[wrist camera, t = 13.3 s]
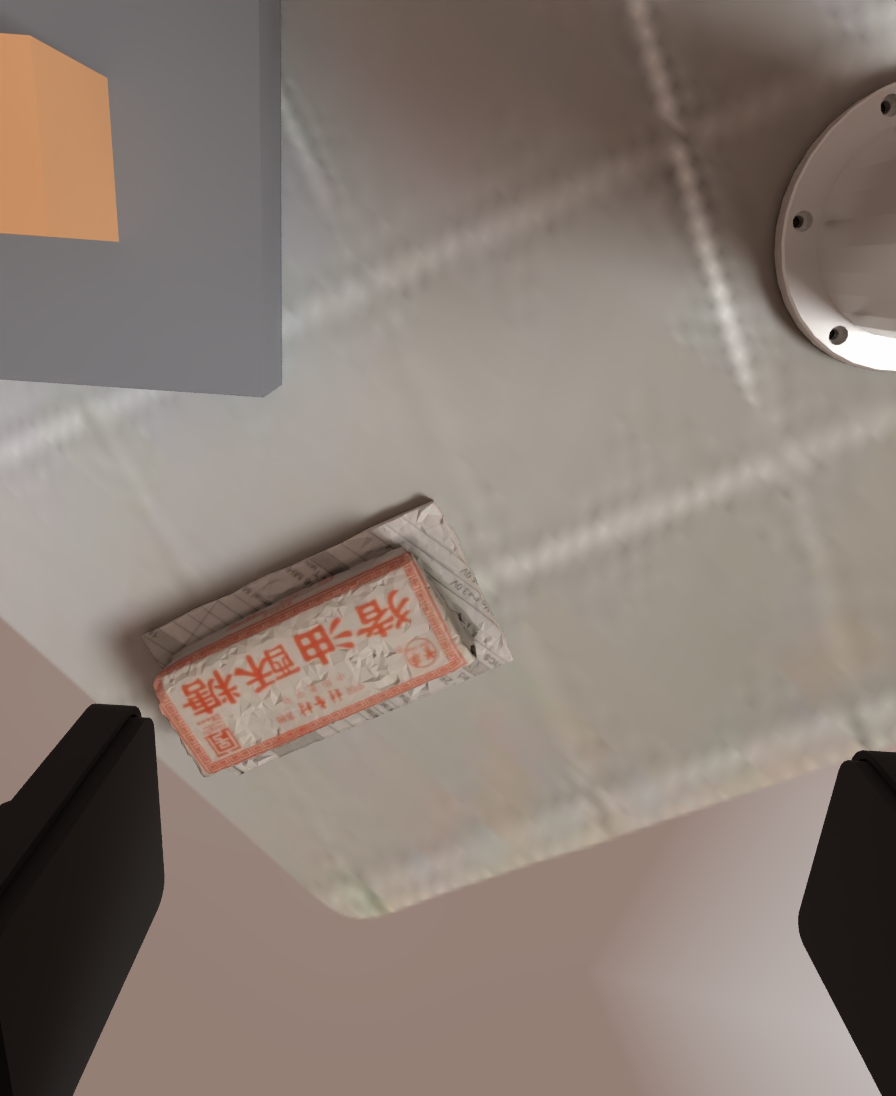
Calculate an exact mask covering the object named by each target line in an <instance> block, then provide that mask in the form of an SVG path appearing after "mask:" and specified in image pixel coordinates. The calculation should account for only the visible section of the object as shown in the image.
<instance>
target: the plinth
mask: <svg viewBox="0 0 896 1096" xmlns="http://www.w3.org/2000/svg"><path fill="white" fill-rule="evenodd" d="M0 33H6V34H19V35H30V36H32V37H34V38H36V39H37V40H39V41H41V42H43V43H45V44H47V45H48V46H50V47H52V48H54V49H56V50H57V51H59V52H61V53H63V54H65V55H66V56H68V57H70V58H72V59H74V60H76V61H77V62H79V63H81V64H83V65H85V66H86V67H88V68H90V69H92V70H94V71H96V72H97V73H99V74H101V75H103V76H105V77H106V78H107V80H108V94H109V108H110V122H111V136H112V150H113V165H114V179H115V193H116V207H117V221H118V235H119V242H114V241H100V240H86V239H71V238H57V237H43V236H29V235H15V234H0V379H3V380H18V381H33V382H47V383H62V384H76V385H91V386H106V387H120V388H135V389H150V390H164V391H179V392H193V393H208V394H223V395H237V396H252V397H265V396H266V395H268V394H269V393H270V392H272V391H273V390H275V389H276V388H278V387H279V386H281V385H282V308H281V64H280V0H0Z"/></svg>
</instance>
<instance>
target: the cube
mask: <svg viewBox="0 0 896 1096" xmlns="http://www.w3.org/2000/svg"><path fill="white" fill-rule="evenodd" d="M0 234H15V235H29V236H43V237H57V238H71V239H86V240H100V241H114V242H119V235H118V221H117V207H116V193H115V179H114V165H113V150H112V136H111V122H110V108H109V94H108V80H107V78H106V77H105V76H103V75H101V74H99V73H97V72H96V71H94V70H92V69H90V68H88V67H86V66H85V65H83V64H81V63H79V62H77V61H76V60H74V59H72V58H70V57H68V56H66V55H65V54H63V53H61V52H59V51H57V50H56V49H54V48H52V47H50V46H48V45H47V44H45V43H43V42H41V41H39V40H37V39H36V38H34V37H32V36H30V35H19V34H6V33H0Z"/></svg>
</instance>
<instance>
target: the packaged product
mask: <svg viewBox="0 0 896 1096" xmlns="http://www.w3.org/2000/svg"><path fill="white" fill-rule="evenodd" d="M141 639H142V640H143V641H144V642H145V644H146V645H147V647H148V648H149V650H150V651H151V653H152V655H153V656H154V658H155V659H156V661H157V662H158V664H159V665H160V667H161V668H162V669H163V670H162V671H160V672H159V673H158V674H157V676H156V677H155V678H154V679H153V689H154V693H155V695H156V697H157V700H158V703H159V707H158V709H159V711H160V712H161V714H162V715H165V716H166V718H167V719H168V720H169V721H170V723H171V726H172V727H173V729H174V730H175V731H176V732H177V734H178V735H179V737H180V740H181V743H182V745H183V746H184V748H185V749H186V751H187V754H188V755H189V756H191V757H192V758H193V760H194V762H195V763H196V765H197V767H198V769H199V771H200V773H201V774H202V775H203V776H204V777H209V776H211V775H213V774H214V773H217V772H218V771H220V770H222V769H228V770H230V771H232V772H234V773H236V774H238V775H241V774H243V773H244V772H246V771H248V770H250V769H251V768H253V767H259V766H260V765H262V764H264V763H266V762H268V761H271V760H274V759H277V758H279V757H281V756H284V755H286V754H288V753H291V752H293V751H295V750H298V749H300V748H303V747H305V746H308V745H310V744H312V743H314V742H316V741H320V740H322V739H324V738H326V737H329V736H331V735H334V734H336V733H338V732H340V731H343V730H346V729H350V728H352V727H354V726H357V725H359V724H361V723H363V722H364V721H366V720H370V719H373V718H375V717H378V716H380V715H382V714H384V713H387V712H389V711H392V710H394V709H396V708H398V707H401V706H404V705H406V704H408V703H411V702H413V701H414V700H416V699H419V698H422V697H425V696H428V695H430V694H433V693H435V692H438V691H440V690H443V689H445V688H448V687H450V686H452V685H454V684H457V683H459V682H462V681H465V680H467V679H469V678H471V677H473V676H476V675H479V674H482V673H484V672H485V671H487V670H489V669H492V668H495V667H497V666H499V665H502V664H505V663H508V662H510V661H512V660H513V658H512V656H511V653H510V650H509V647H508V645H507V642H506V639H505V637H504V634H503V631H502V629H501V628H500V626H499V624H498V622H497V620H496V619H495V617H494V615H493V613H492V611H491V610H490V608H489V606H488V604H487V602H486V601H485V599H484V597H483V595H482V592H481V590H480V587H479V585H478V583H477V580H476V578H475V576H474V573H473V571H472V569H471V567H470V565H469V563H468V561H467V559H466V557H465V554H464V552H463V550H462V548H461V546H460V544H459V542H458V540H457V537H456V535H455V533H454V532H453V530H452V529H451V527H450V525H449V524H448V522H447V520H446V519H445V517H444V516H443V514H442V513H441V511H440V509H439V508H438V506H437V505H436V503H435V501H434V500H433V501H430V502H428V503H426V504H423V505H421V506H419V507H416V508H414V509H411V510H409V511H407V512H404V513H402V514H400V515H397V516H395V517H393V518H391V519H388V520H386V521H384V522H382V523H379V524H377V525H375V526H373V527H370V528H368V529H366V530H364V531H362V532H361V533H359V534H357V535H355V536H353V537H352V538H350V539H348V540H346V541H344V542H342V543H340V544H338V545H335V546H333V547H331V548H329V549H326V550H324V551H322V552H319V553H317V554H315V555H313V556H310V557H308V558H306V559H304V560H301V561H299V562H297V563H295V564H293V565H291V566H289V567H286V568H283V569H281V570H278V571H275V572H273V573H270V574H268V575H265V576H263V577H261V578H259V579H258V580H256V581H253V582H251V583H249V584H247V585H245V586H244V587H242V588H240V589H239V590H237V591H235V592H234V593H232V594H230V595H229V596H225V597H222V598H220V599H218V600H215V601H213V602H210V603H208V604H205V605H203V606H200V607H198V608H195V609H193V610H192V611H190V612H188V613H186V614H184V615H182V616H180V617H178V618H176V619H174V620H173V621H171V622H169V623H167V624H165V625H163V626H161V627H160V628H158V629H155V630H153V631H150V632H147V633H145V634H142V636H141Z"/></svg>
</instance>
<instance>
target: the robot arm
mask: <svg viewBox="0 0 896 1096" xmlns="http://www.w3.org/2000/svg"><path fill="white" fill-rule="evenodd" d="M881 103H883V104H884V105H885V112H884V114H883V113H882V112H881ZM795 216H796V217H798V218H799V225H798V226H797V227H796V228H794V227H793V219H794V217H795ZM774 258H775V266H776V275H777V282H778V285H779V288H780V291H781V294H782V298H783V301H784V304H785V306H786V308H787V310H788V312H789V313H790V315H791V317H792V318H793V320H794V322H795V324H796V325H797V327H798V328H799V329H800V330H801V331H802V332H803V334H804V335H805V336H806V337H807V338H808V339H809V340H810V341H811V342H812V343H813V344H814V345H815V346H817V347H818V348H819V349H821V350H822V351H824V352H825V353H827V354H828V355H830V356H831V357H833V358H835V359H837V360H840V361H842V362H845V363H847V364H850V365H852V366H855V367H860V368H864V369H868V370H872V371H880V372H895V373H896V82H894V83H891V84H889V85H887V86H884V87H882V88H880V89H878V90H876V91H875V92H873V93H871V94H869V95H868V96H866V97H864V98H862V99H861V100H859V101H857V102H855V103H854V104H853V105H852V106H851V107H849V108H848V109H847V110H846V111H844V112H843V113H842V114H841V115H840V116H838V117H837V118H836V119H835V120H834V121H832V122H831V123H830V124H829V126H828V127H827V128H826V129H825V130H824V131H823V132H822V134H821V135H820V136H819V137H818V138H817V139H816V140H815V142H814V143H813V144H812V145H811V146H810V148H809V149H808V151H807V153H806V154H805V156H804V157H803V159H802V161H801V162H800V164H799V165H798V167H797V169H796V170H795V172H794V174H793V176H792V179H791V181H790V184H789V186H788V188H787V191H786V193H785V195H784V198H783V200H782V205H781V209H780V213H779V217H778V221H777V226H776V235H775V251H774ZM832 329H833V330H834V336H833V337H832V338H831V339H829V334H830V332H831V330H832ZM163 889H164V863H163V849H162V835H161V820H160V805H159V791H158V776H157V761H156V746H155V732H154V724H153V721H152V719H150V718H142V717H141V713H140V710H139V708H137V707H136V706H125V705H109V704H92V705H90V706H89V707H88V708H87V709H86V710H85V712H84V713H83V714H82V715H81V716H80V718H79V719H78V720H77V721H76V723H75V724H74V725H73V726H72V727H71V729H70V730H69V731H68V732H67V733H66V735H65V736H64V737H63V738H62V740H61V741H60V742H59V743H58V744H57V745H56V747H55V748H54V749H53V750H52V752H51V753H50V754H49V755H48V756H47V758H46V759H45V760H44V761H43V763H42V764H41V765H40V766H39V767H38V769H37V770H36V771H35V772H34V773H33V775H32V776H31V777H30V778H29V779H28V781H27V782H26V783H25V784H24V785H23V787H22V788H21V789H20V790H19V791H18V793H17V794H16V795H15V796H14V798H13V799H12V800H11V801H8V802H5V803H3V804H1V805H0V1096H73V1093H74V1091H75V1089H76V1087H77V1085H78V1083H79V1080H80V1078H81V1076H82V1074H83V1072H84V1069H85V1067H86V1065H87V1063H88V1061H89V1058H90V1056H91V1054H92V1052H93V1050H94V1048H95V1045H96V1043H97V1041H98V1039H99V1037H100V1034H101V1032H102V1030H103V1028H104V1026H105V1023H106V1021H107V1019H108V1017H109V1015H110V1012H111V1010H112V1008H113V1006H114V1004H115V1001H116V999H117V997H118V995H119V993H120V991H121V988H122V986H123V984H124V982H125V980H126V978H127V975H128V973H129V971H130V969H131V967H132V964H133V962H134V960H135V958H136V955H137V953H138V951H139V949H140V947H141V945H142V943H143V940H144V938H145V936H146V934H147V932H148V929H149V927H150V925H151V923H152V921H153V918H154V916H155V914H156V912H157V910H158V907H159V904H160V902H161V898H162V894H163ZM798 925H799V933H800V937H801V939H802V942H803V945H804V947H805V948H806V950H807V952H808V954H809V956H810V958H811V960H812V962H813V964H814V966H815V968H816V970H817V972H818V974H819V975H820V977H821V979H822V981H823V983H824V985H825V987H826V989H827V990H828V992H829V995H830V997H831V998H832V1000H833V1002H834V1004H835V1006H836V1008H837V1010H838V1012H839V1014H840V1016H841V1018H842V1020H843V1022H844V1023H845V1025H846V1027H847V1029H848V1031H849V1033H850V1035H851V1037H852V1039H853V1041H854V1043H855V1045H856V1046H857V1049H858V1050H859V1052H860V1054H861V1056H862V1058H863V1060H864V1062H865V1064H866V1066H867V1068H868V1070H869V1072H870V1073H871V1075H872V1077H873V1079H874V1081H875V1083H876V1085H877V1087H878V1089H879V1091H880V1093H881V1094H882V1096H896V752H881V751H864V750H862V751H859V752H857V753H856V754H855V755H854V756H853V758H852V760H847V761H844V762H843V763H842V765H841V766H840V769H839V771H838V775H837V779H836V782H835V786H834V790H833V793H832V796H831V800H830V804H829V807H828V811H827V814H826V818H825V821H824V825H823V829H822V832H821V836H820V839H819V843H818V846H817V850H816V854H815V857H814V861H813V864H812V868H811V871H810V875H809V879H808V882H807V886H806V889H805V893H804V896H803V900H802V904H801V907H800V911H799V916H798Z"/></svg>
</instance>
